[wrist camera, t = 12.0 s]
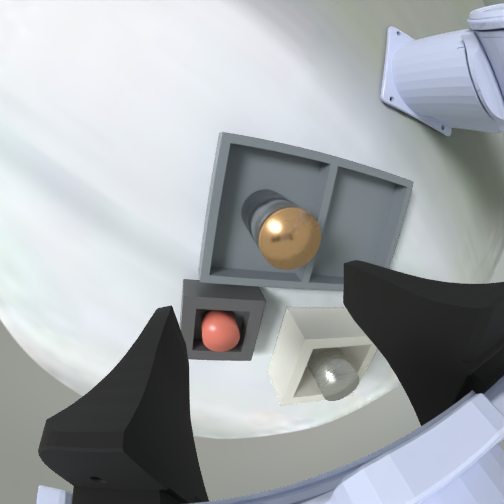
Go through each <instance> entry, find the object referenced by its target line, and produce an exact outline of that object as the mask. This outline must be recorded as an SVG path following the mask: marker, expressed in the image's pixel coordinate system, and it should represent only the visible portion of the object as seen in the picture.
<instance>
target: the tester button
mask: <svg viewBox="0 0 504 504" xmlns="http://www.w3.org/2000/svg"><path fill="white" fill-rule="evenodd" d="M201 329H202V339H203V343H204V345H205V346H206V347H207V348H208V349H210V350H212V351H216V352H224V351H228V350H230V349H232V348H234V347H235V346H236V345H237V344H238V342H239V340H240V333H239V329H238V326H237V322H236V319H235V316H234V314H233V313H232V312H231V311H225V310H209V311H208V312H206V313H205V314H204V315H203V317H202V319H201Z"/></svg>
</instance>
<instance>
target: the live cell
mask: <svg viewBox="0 0 504 504" xmlns="http://www.w3.org/2000/svg"><path fill="white" fill-rule="evenodd" d="M241 216H242V220H243V223H244V225H245V227H246V228H247V230H248V231H249V233H250V235H251V236H252V238H253V240H254V241H255V243H256V245H257V246H258V248H259V250H260V251H261V253H262V255H263V256H264V258H265V259H266V261H267V262H268V263H269V264H271V265H272V266H274V267H276V268H279V269H283V270H291V269H296V268H299V267H301V266H303V265H305V264H306V263H308V262H309V261H310V260H311V259H312V258H313V257H314V255H315V254H316V252H317V251H318V248H319V246H320V242H321V230H320V226H319V224H318V222H317V220H316V219H315V218H314V217H313V216H312V215H311V214H310V213H308V212H307V211H305V210H304V209H302V208H301V207H299V206H298V205H296V204H294V203H293V202H291V201H290V200H288V199H287V198H285V197H284V196H282V195H280V194H279V193H277V192H275V191H273V190H269V189H262V190H258V191H256V192H254V193H252V194H251V195H250V196H249V197H248V198H247V199H246V200H245V202H244V204H243V206H242V211H241Z"/></svg>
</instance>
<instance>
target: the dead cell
mask: <svg viewBox="0 0 504 504" xmlns="http://www.w3.org/2000/svg"><path fill="white" fill-rule="evenodd" d="M307 366H308V368H309V370H310V372H311V374H312V376H313V377H314V379H315V381H316V383H317V385H318V387H319V389H320V391H321V393H322V395H323V396H324V398H325V399H326V400H328V401H335V400H339V399H342V398H344V397H346V396H348V395H349V394H350V393H352V392H353V391H354V390H355V389H356V387H357V386H358V384H359V382H360V378H359V376H358V374H357V373H356V371H355V370H354V368H353V367H352V366H351V364H350V363H349V361H348V360H347V358H346V357H345V355H344V354H343V352H342V351H341V350H340V348H339V347H334V348H318V349H313V350H312V353H311V355H310V358H309V361H308V363H307Z"/></svg>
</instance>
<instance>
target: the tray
mask: <svg viewBox="0 0 504 504" xmlns="http://www.w3.org/2000/svg"><path fill="white" fill-rule="evenodd" d="M412 187H413V181H410V180H407V179H404V178H402V177H399V176H396V175H393V174H390V173H387V172H384V171H381V170H378V169H375V168H372V167H369V166H366V165H363V164H359V163H356V162H353V161H349V160H346V159H342V158H339V157H335V156H332V155H328V154H324V153H320V152H316V151H313V150H309V149H304V148H300V147H296V146H292V145H287V144H283V143H278V142H274V141H269V140H264V139H259V138H253V137H248V136H243V135H237V134H231V133H225V132H222V133H219V139H218V144H217V150H216V156H215V161H214V167H213V173H212V179H211V186H210V192H209V199H208V205H207V212H206V219H205V226H204V233H203V241H202V248H201V256H200V264H199V278H200V282H204V283H216V284H229V285H244V286H259V287H275V288H293V289H312V290H335V291H344V263H346V262H350V261H354V260H359V261H364V262H368V263H371V264H375V265H378V266H381V267H384V268H388V269H389V266H390V263H391V260H392V257H393V254H394V251H395V248H396V245H397V241H398V238H399V235H400V232H401V228H402V225H403V221H404V218H405V214H406V210H407V207H408V203H409V199H410V195H411V191H412ZM262 189H269V190H273V191H275V192H277V193H279V194H280V195H282V196H284V197H285V198H287V199H288V200H290V201H291V202H293V203H294V204H296V205H298V206H299V207H301V208H302V209H304V210H305V211H307V212H308V213H310V214H311V215H312V216H313V217H314V218H315V219H316V220H317V222H318V224H319V226H320V230H321V242H320V246H319V248H318V251H317V252H316V254H315V255H314V257H313V258H312V259H311V260H310V261H309V262H308V263H306V264H305V265H303V266H301V267H299V268H296V269H291V270H283V269H279V268H276V267H274V266H272V265H271V264H269V263H268V262H267V261H266V259H265V258H264V256H263V255H262V253H261V251H260V250H259V248H258V246H257V245H256V243H255V241H254V240H253V238H252V236H251V235H250V233H249V231H248V230H247V228H246V227H245V225H244V223H243V220H242V216H241V211H242V206H243V204H244V202H245V200H246V199H247V198H248V197H249V196H250V195H251V194H252V193H254V192H256V191H258V190H262Z"/></svg>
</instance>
